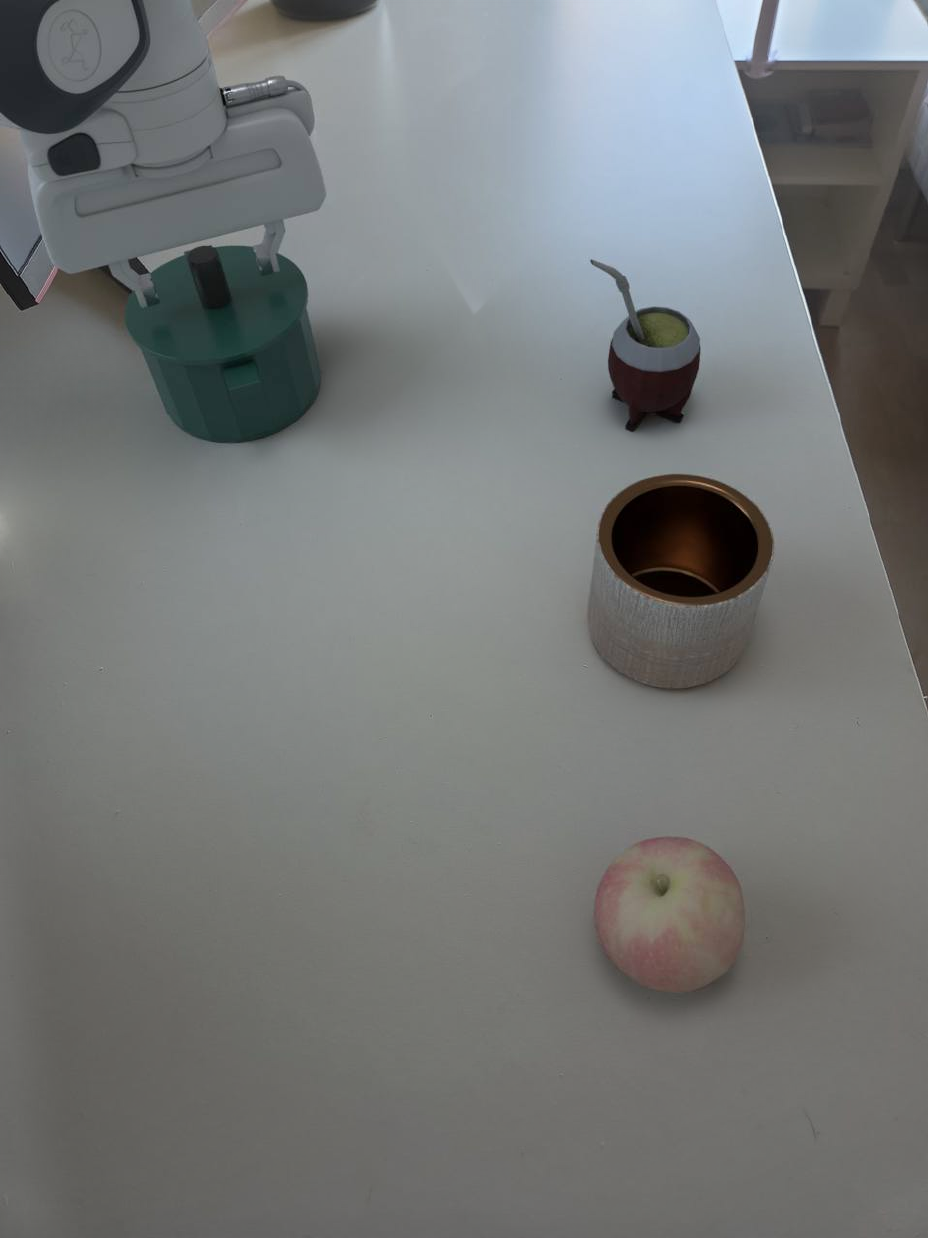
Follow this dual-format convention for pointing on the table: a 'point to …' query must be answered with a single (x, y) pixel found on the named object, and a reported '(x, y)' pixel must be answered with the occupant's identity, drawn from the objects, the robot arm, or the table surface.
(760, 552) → the planter
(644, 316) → the mate gourd
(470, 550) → the table surface
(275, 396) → the pot
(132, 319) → the lid
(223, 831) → the table surface
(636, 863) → the apple
